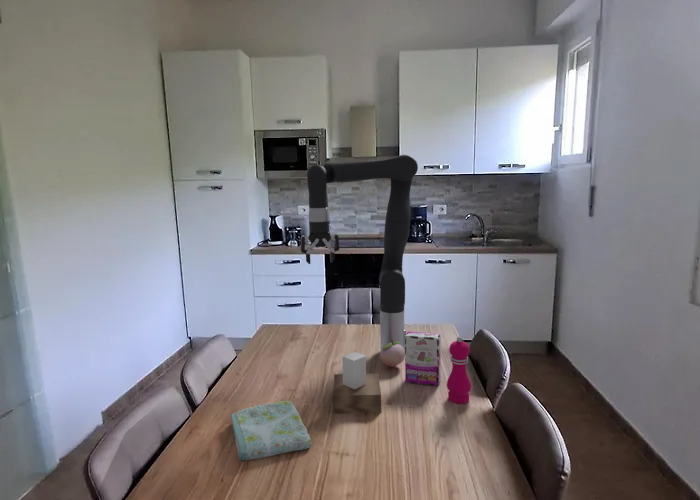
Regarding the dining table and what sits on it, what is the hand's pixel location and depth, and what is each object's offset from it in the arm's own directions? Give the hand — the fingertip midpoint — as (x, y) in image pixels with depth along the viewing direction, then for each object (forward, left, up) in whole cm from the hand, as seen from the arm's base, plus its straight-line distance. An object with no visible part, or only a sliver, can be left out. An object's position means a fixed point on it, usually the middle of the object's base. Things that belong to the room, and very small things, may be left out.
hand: (320, 262), depth 168 cm
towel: (+24, +51, -37) cm, 67 cm away
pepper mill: (-34, +46, -36) cm, 68 cm away
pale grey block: (-3, +39, -30) cm, 50 cm away
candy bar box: (-28, +32, -36) cm, 56 cm away
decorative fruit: (-22, +19, -36) cm, 47 cm away
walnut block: (-4, +39, -37) cm, 53 cm away
